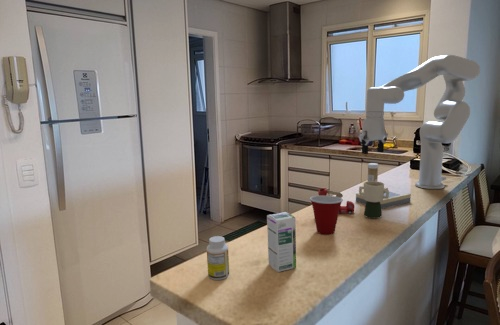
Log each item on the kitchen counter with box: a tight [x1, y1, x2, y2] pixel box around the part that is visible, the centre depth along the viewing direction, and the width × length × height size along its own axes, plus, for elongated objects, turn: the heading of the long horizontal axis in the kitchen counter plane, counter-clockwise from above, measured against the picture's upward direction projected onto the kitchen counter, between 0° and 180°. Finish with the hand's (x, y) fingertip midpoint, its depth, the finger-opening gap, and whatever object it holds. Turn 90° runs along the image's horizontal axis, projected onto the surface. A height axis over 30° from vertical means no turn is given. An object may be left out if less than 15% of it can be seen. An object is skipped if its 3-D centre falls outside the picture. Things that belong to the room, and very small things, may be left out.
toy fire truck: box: [318, 187, 355, 215], centre depth 138 cm, size 3×14×10 cm, turn 84°
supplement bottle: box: [206, 235, 230, 281], centre depth 92 cm, size 6×6×10 cm
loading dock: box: [355, 187, 412, 210], centre depth 151 cm, size 18×13×4 cm
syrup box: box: [266, 211, 297, 273], centre depth 96 cm, size 6×6×14 cm
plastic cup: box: [309, 195, 344, 236], centre depth 119 cm, size 11×11×12 cm
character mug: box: [358, 180, 390, 219], centre depth 132 cm, size 11×7×13 cm, turn 53°
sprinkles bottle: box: [367, 162, 379, 182], centre depth 165 cm, size 5×5×14 cm
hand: (372, 152), depth 163 cm, fingers open, 9 cm apart
